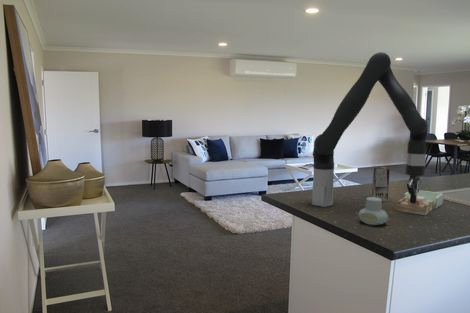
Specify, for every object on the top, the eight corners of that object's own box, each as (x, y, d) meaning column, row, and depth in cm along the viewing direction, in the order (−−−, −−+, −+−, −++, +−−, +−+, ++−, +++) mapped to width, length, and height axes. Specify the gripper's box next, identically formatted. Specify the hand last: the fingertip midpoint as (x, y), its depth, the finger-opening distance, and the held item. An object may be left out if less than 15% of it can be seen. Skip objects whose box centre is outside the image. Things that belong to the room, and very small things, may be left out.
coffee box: (388, 201, 184) (390, 169, 182) (374, 201, 185) (376, 168, 183) (384, 197, 193) (386, 166, 191) (371, 197, 194) (373, 166, 192)
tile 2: (422, 203, 169) (422, 199, 169) (410, 201, 173) (410, 197, 172) (425, 201, 173) (425, 197, 173) (413, 199, 176) (414, 195, 176)
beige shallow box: (425, 215, 161) (426, 206, 161) (396, 210, 169) (396, 201, 168) (433, 208, 172) (434, 200, 171) (405, 204, 179) (406, 196, 179)
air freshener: (390, 223, 149) (391, 199, 148) (382, 228, 143) (384, 202, 142) (363, 218, 156) (364, 194, 155) (355, 222, 150) (356, 198, 149)
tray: (436, 208, 172) (437, 198, 171) (403, 203, 180) (404, 193, 180) (442, 203, 181) (443, 193, 181) (411, 199, 190) (412, 189, 190)
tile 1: (419, 205, 166) (419, 201, 165) (407, 203, 169) (407, 199, 168) (422, 203, 169) (422, 199, 169) (410, 201, 173) (411, 197, 172)
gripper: (410, 161, 171) (408, 198, 173) (401, 164, 161) (399, 204, 163) (429, 163, 166) (426, 201, 168) (420, 166, 156) (417, 207, 158)
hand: (413, 202), depth 166 cm, fingers closed
